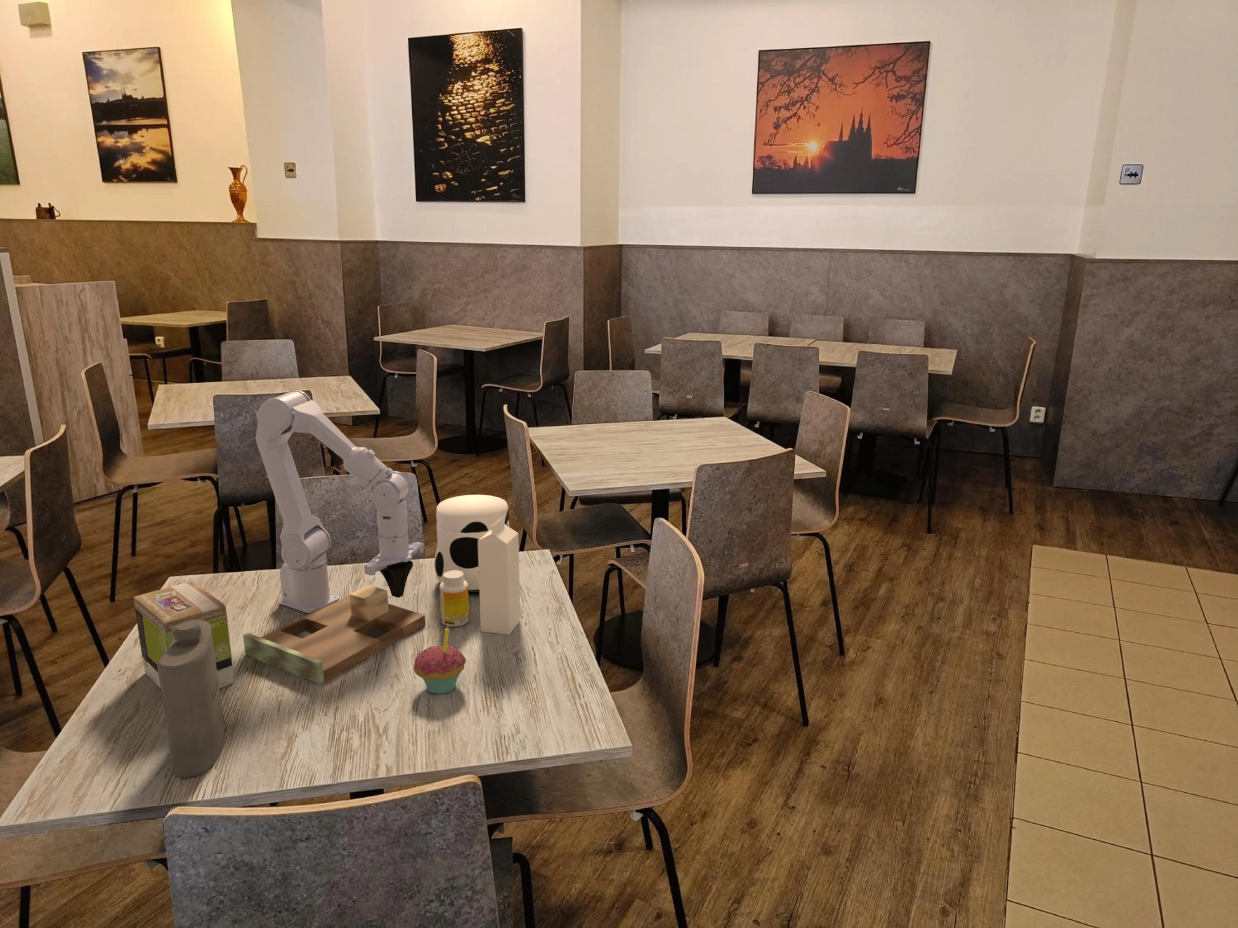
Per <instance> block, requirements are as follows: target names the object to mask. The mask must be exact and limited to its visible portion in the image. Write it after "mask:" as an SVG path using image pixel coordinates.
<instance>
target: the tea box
mask: <svg viewBox="0 0 1238 928" xmlns="http://www.w3.org/2000/svg"><path fill="white" fill-rule="evenodd" d="M133 603H134V605H133V606H134V611H135V617H136V624H137V631H138V637H139V645H140V650H141V651H140V652H141V657H142V658H141V659H142V664H143V671H144V673H145V674H146V675H147V676H148V677H149V679H151V680H152V682H154V683H155V685H157V687H158V688H159V689H161V687H160V681H159V675H158V669H157V663H158V661H159V660H160V659H161V658H162V657H163V655H164V654H165V653H166V652H167V650H168V649H169V647H170V644H171V642H172V629H173V628H174V627H175V626H177V625H178V624H180V623H183V622H186V621H191V620H203V621H206V622H208V623H209V624H210V626H211V631H212V639H213V646H214V653H215V661H216V668H217V675H218V683H219V689H222V688H224V687H228V686H230V685H231V684H234V683H235V677H234V676H235V673H234V667H233V665H234V664H233V657H232V656H233V655H232V648H231V642H230V641H231V640H230V631H229V625H228V614H227V607H226V605H225V604H224V603H223V602H222V601H221V600H219V598H216V597H215V596H214V595H212V594H211V593H210V592H208V591H207V590H205V589H203V588H202V587H201V586H200V585H198V584H196V582H194V581H187V582H184V583H180V584H176V585H172V586H169V587H165V588H162V589H157V590H153V591H150V592H146V593H142V594H139V595H135V596H133Z"/></svg>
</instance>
